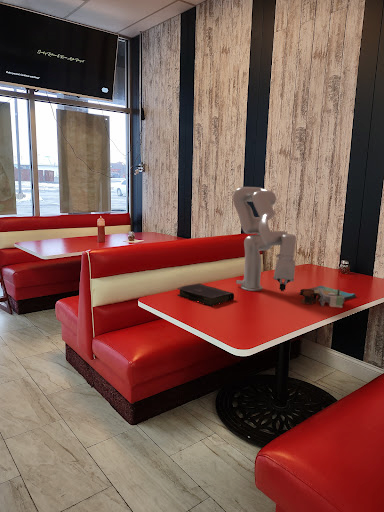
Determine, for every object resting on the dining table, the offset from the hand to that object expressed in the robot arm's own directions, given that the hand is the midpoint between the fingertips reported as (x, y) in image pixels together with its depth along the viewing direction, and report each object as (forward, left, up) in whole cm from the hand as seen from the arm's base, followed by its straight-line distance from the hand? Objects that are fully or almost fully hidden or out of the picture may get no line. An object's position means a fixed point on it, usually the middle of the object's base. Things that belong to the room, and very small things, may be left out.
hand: (282, 290), depth 205 cm
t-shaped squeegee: (+26, -1, -4) cm, 26 cm away
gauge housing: (+27, -1, -5) cm, 28 cm away
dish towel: (+27, +18, -5) cm, 33 cm away
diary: (-40, -10, -5) cm, 42 cm away
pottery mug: (+14, -2, -5) cm, 15 cm away
